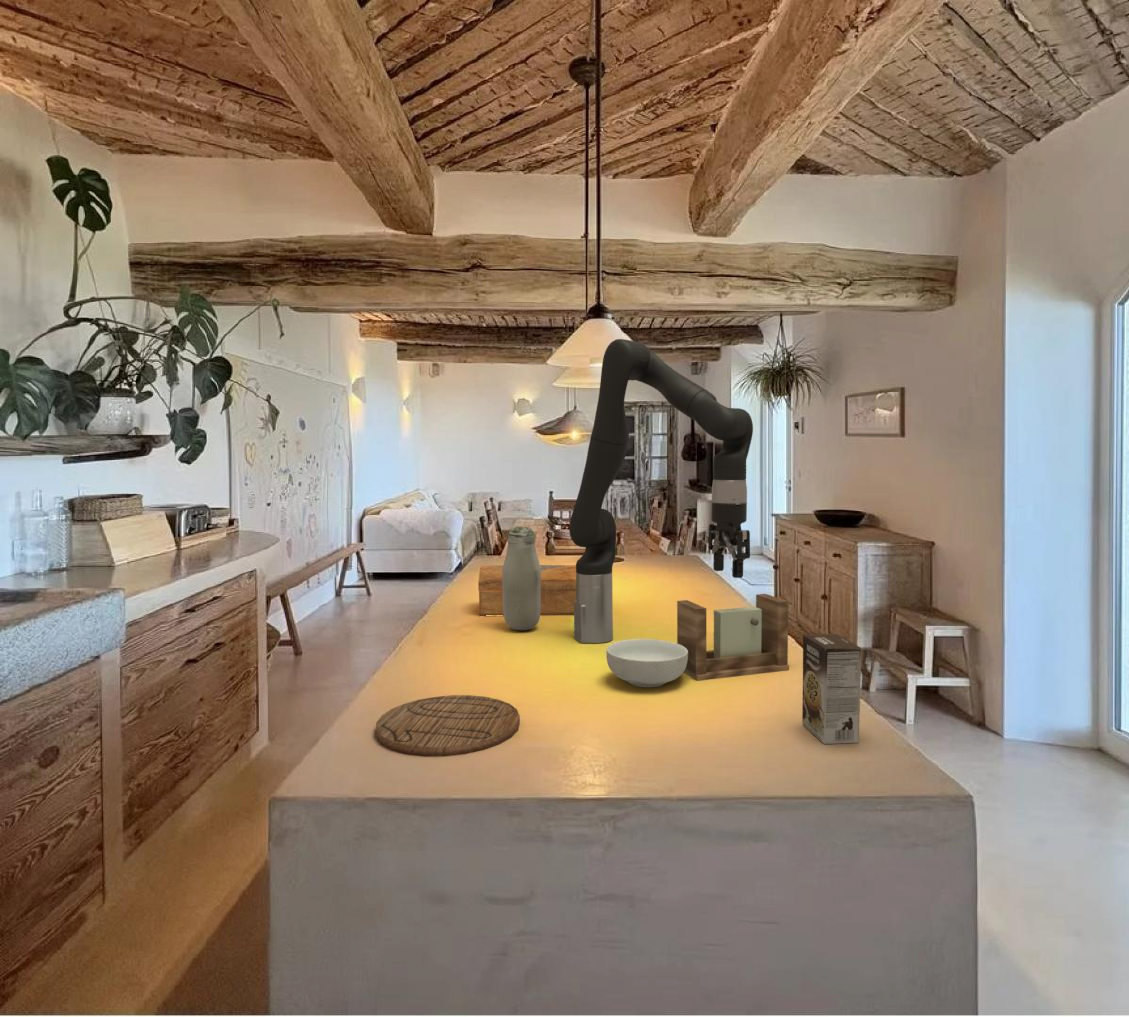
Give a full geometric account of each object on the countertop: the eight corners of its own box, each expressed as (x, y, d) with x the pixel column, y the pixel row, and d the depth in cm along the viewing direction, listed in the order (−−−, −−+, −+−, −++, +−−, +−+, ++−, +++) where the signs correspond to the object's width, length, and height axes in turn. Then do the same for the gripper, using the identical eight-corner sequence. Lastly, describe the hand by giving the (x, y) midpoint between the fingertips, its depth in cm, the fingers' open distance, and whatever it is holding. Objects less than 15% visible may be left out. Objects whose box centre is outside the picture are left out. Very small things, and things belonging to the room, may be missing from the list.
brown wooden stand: (697, 680, 155) (697, 609, 154) (676, 667, 165) (676, 600, 163) (788, 670, 161) (789, 601, 160) (763, 657, 171) (764, 593, 170)
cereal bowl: (634, 700, 144) (634, 664, 143) (591, 677, 159) (591, 644, 158) (704, 686, 152) (704, 652, 151) (658, 665, 166) (657, 634, 166)
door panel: (722, 669, 160) (722, 613, 159) (713, 663, 163) (713, 610, 162) (763, 664, 162) (764, 610, 161) (753, 659, 166) (754, 606, 165)
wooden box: (477, 618, 216) (476, 570, 215) (485, 605, 233) (484, 562, 232) (580, 617, 215) (580, 569, 214) (581, 605, 232) (580, 561, 231)
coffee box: (800, 724, 130) (801, 633, 129) (835, 722, 131) (837, 632, 129) (822, 745, 121) (824, 647, 120) (860, 743, 122) (862, 646, 120)
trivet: (500, 762, 117) (500, 751, 117) (351, 754, 121) (350, 743, 121) (532, 707, 142) (532, 697, 141) (407, 702, 146) (407, 692, 146)
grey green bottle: (497, 632, 198) (495, 528, 196) (514, 623, 207) (512, 524, 205) (531, 635, 194) (529, 529, 192) (547, 626, 204) (545, 524, 201)
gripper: (698, 498, 167) (697, 569, 169) (729, 503, 154) (728, 580, 155) (728, 497, 170) (727, 567, 171) (761, 502, 156) (760, 579, 157)
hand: (727, 574), depth 163 cm, fingers open, 8 cm apart
